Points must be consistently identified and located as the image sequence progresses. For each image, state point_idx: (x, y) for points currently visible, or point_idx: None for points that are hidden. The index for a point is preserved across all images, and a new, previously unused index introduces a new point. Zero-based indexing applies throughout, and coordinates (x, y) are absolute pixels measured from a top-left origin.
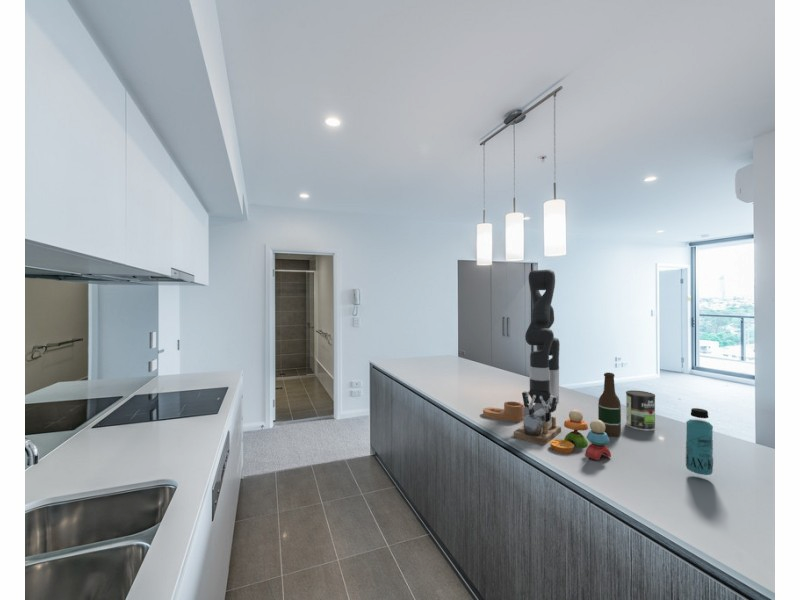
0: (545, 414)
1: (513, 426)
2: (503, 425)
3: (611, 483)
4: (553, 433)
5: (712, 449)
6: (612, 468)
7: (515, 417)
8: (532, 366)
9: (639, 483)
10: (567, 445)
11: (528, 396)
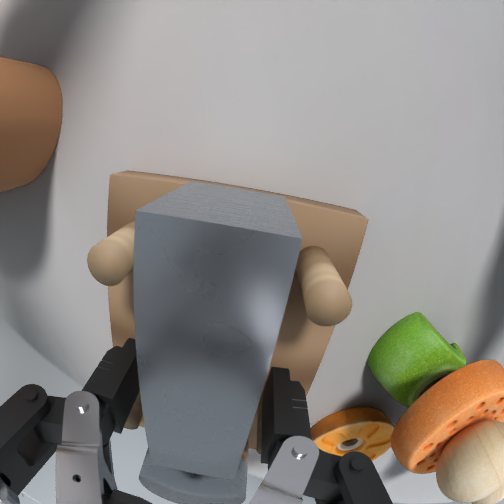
0: (261, 448)
1: (58, 268)
2: (24, 278)
3: (417, 483)
4: (316, 367)
5: None
6: None
7: (16, 182)
8: None
9: None
10: (370, 451)
11: (7, 489)
